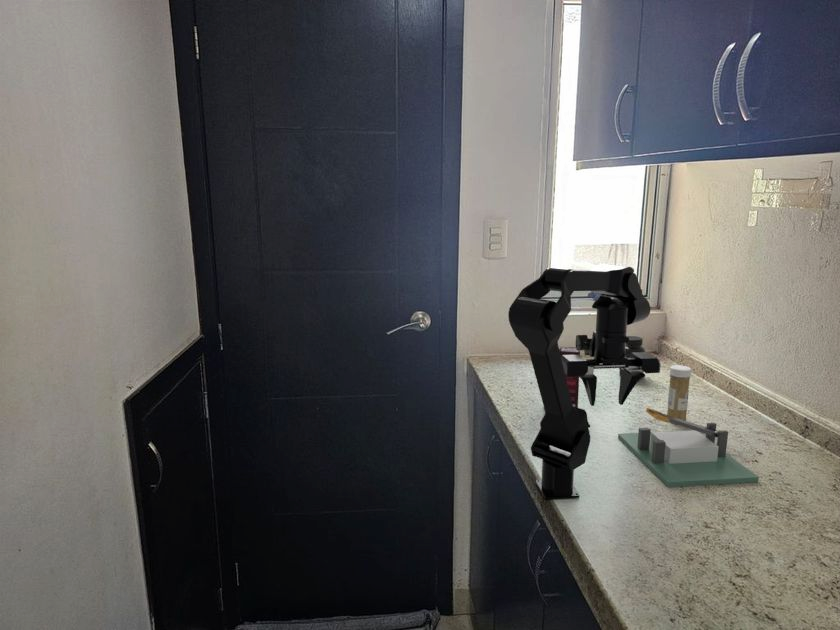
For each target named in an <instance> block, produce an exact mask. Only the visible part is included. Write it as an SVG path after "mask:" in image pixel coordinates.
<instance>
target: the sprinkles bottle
mask: <svg viewBox="0 0 840 630" xmlns="http://www.w3.org/2000/svg"><path fill="white" fill-rule="evenodd" d="M669 375H670V376H669V377H670V378H669V386H668V395H667V396H668V397H667V411H666V412H667V414H666V415H669V416H672V417H675V418H678V419H682V420H685V421H687V412H688V405H689V404H688V403H689V394H690V393H689V389H690V378H691V376H692V368H691V367H689V366H686V365H682V364H681V365H680V364H673V365H671V366H670V368H669Z"/></svg>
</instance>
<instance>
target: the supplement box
mask: <svg viewBox="0 0 840 630" xmlns="http://www.w3.org/2000/svg"><path fill="white" fill-rule="evenodd" d="M558 347H559V351H560V355H561V356H562V355H577V354H579V355H580V356H581V350H580V351H577V350H576V346H575V347H573V346H558ZM565 376H566V380H567V385H568V389H569V393H570V397H571V401H572V405H573V406H574V407H577V408H579V392H580V389H579V387H580V377H578V376H567V375H566V374H565ZM543 410H544V411H545V409H544V408H543Z"/></svg>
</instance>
